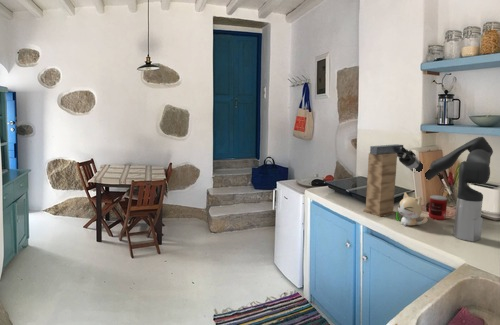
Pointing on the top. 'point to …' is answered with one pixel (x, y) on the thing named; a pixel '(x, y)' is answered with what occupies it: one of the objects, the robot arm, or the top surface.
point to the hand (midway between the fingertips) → (393, 147)
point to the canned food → (437, 207)
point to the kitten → (410, 210)
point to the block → (385, 149)
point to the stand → (381, 184)
